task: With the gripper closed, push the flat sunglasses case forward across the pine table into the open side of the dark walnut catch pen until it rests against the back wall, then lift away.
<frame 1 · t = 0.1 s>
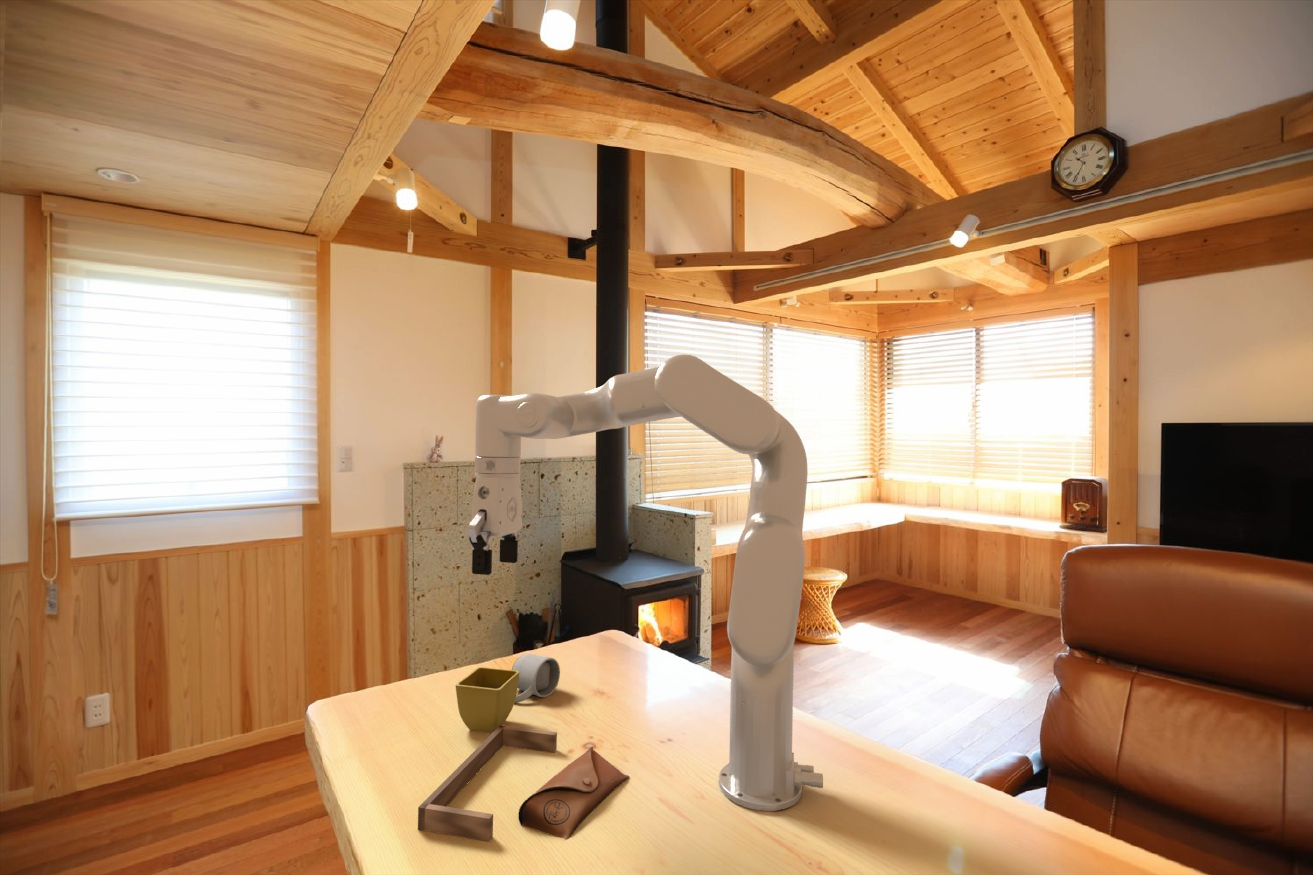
hand: (495, 567, 101), 31 cm above the table, tool pointing down, fingers open, 9 cm apart
sunglasses case: (578, 802, 88), on the table
catch pen: (495, 784, 91), on the table
ceramic mug: (530, 695, 124), on the table
flower pot: (487, 727, 110), on the table
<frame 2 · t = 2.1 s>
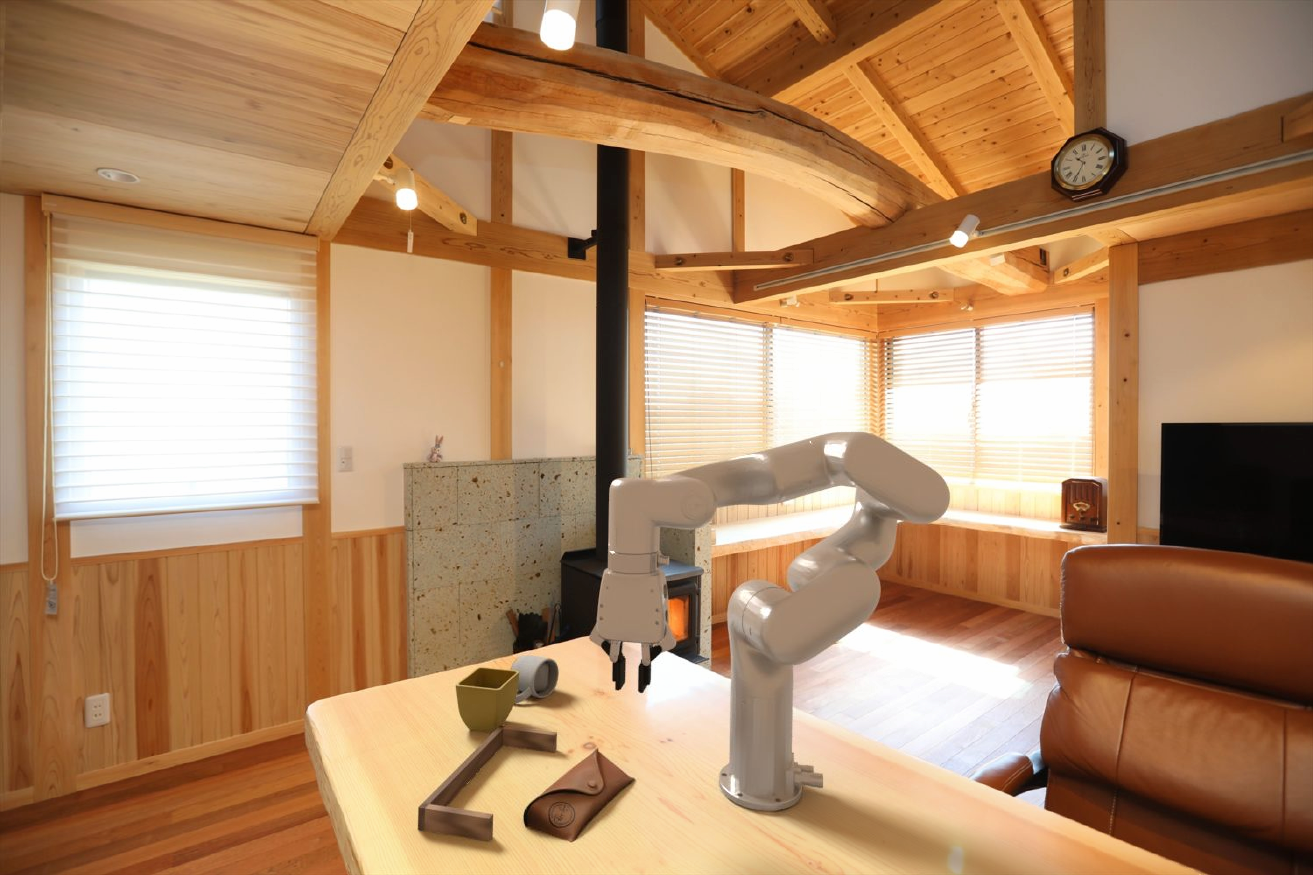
hand: (631, 686, 87), 17 cm above the table, tool pointing down, fingers closed
sunglasses case: (583, 804, 88), on the table
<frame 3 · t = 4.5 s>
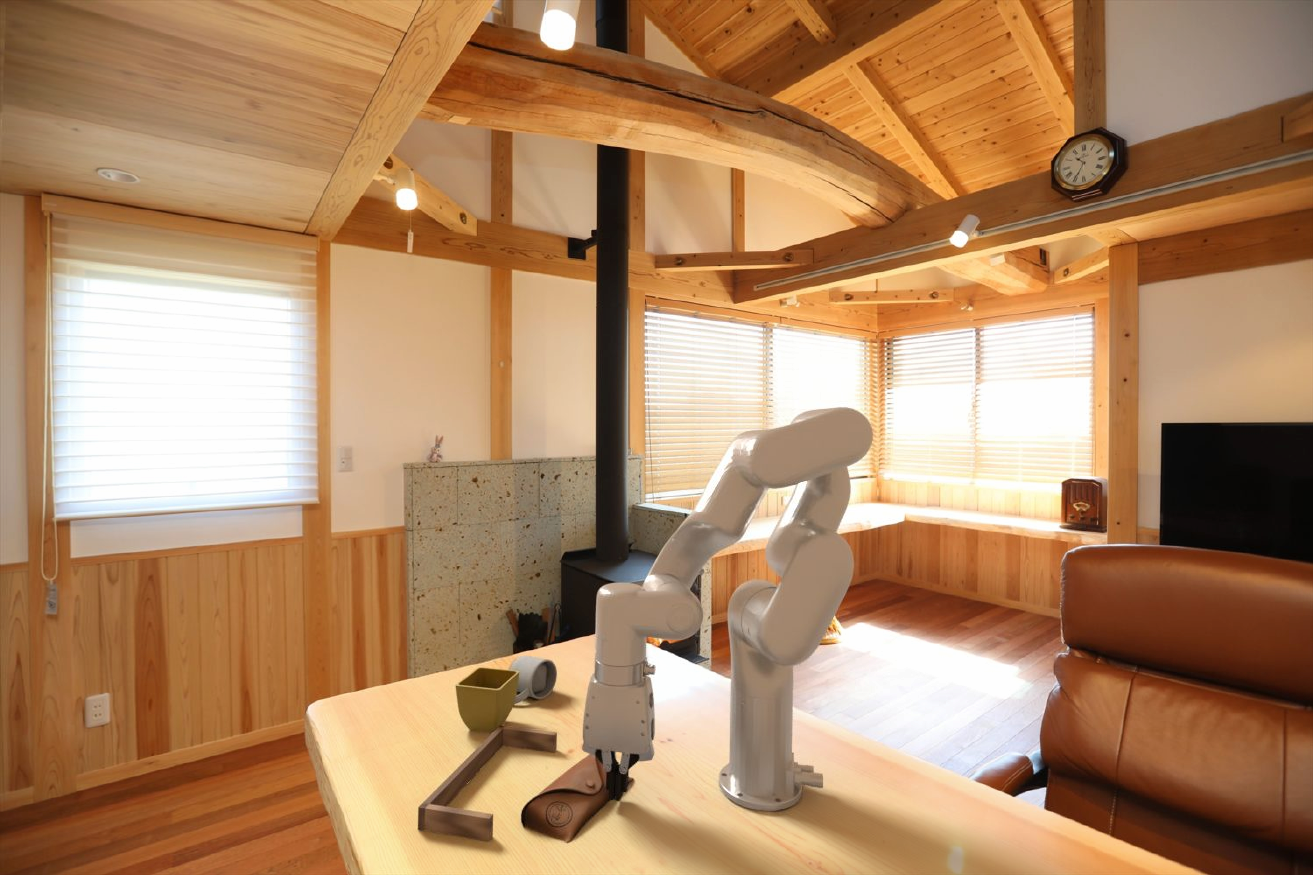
hand: (616, 794, 87), 1 cm above the table, tool pointing down, fingers closed
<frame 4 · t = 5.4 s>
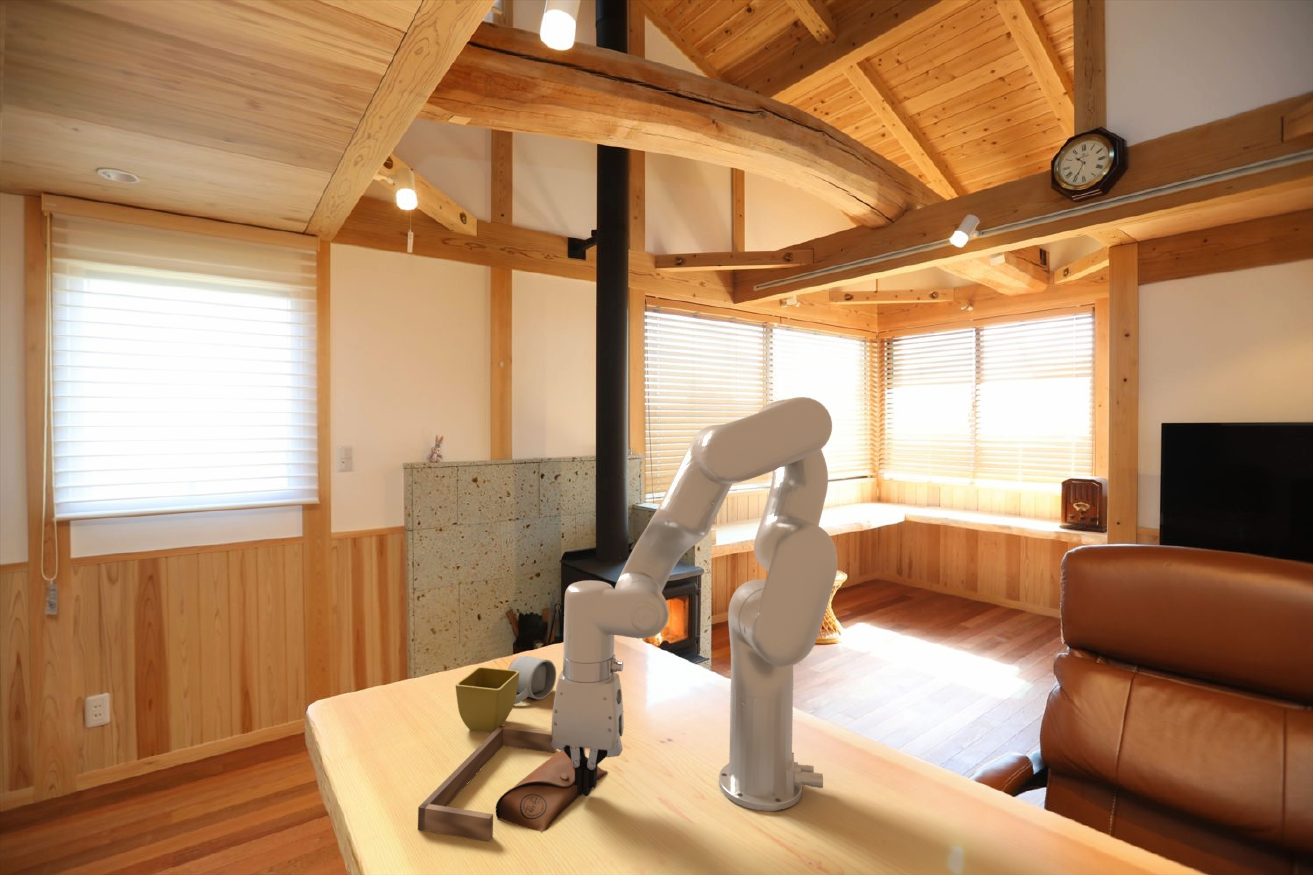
hand: (585, 790, 88), 1 cm above the table, tool pointing down, fingers closed
sunglasses case: (556, 797, 90), on the table
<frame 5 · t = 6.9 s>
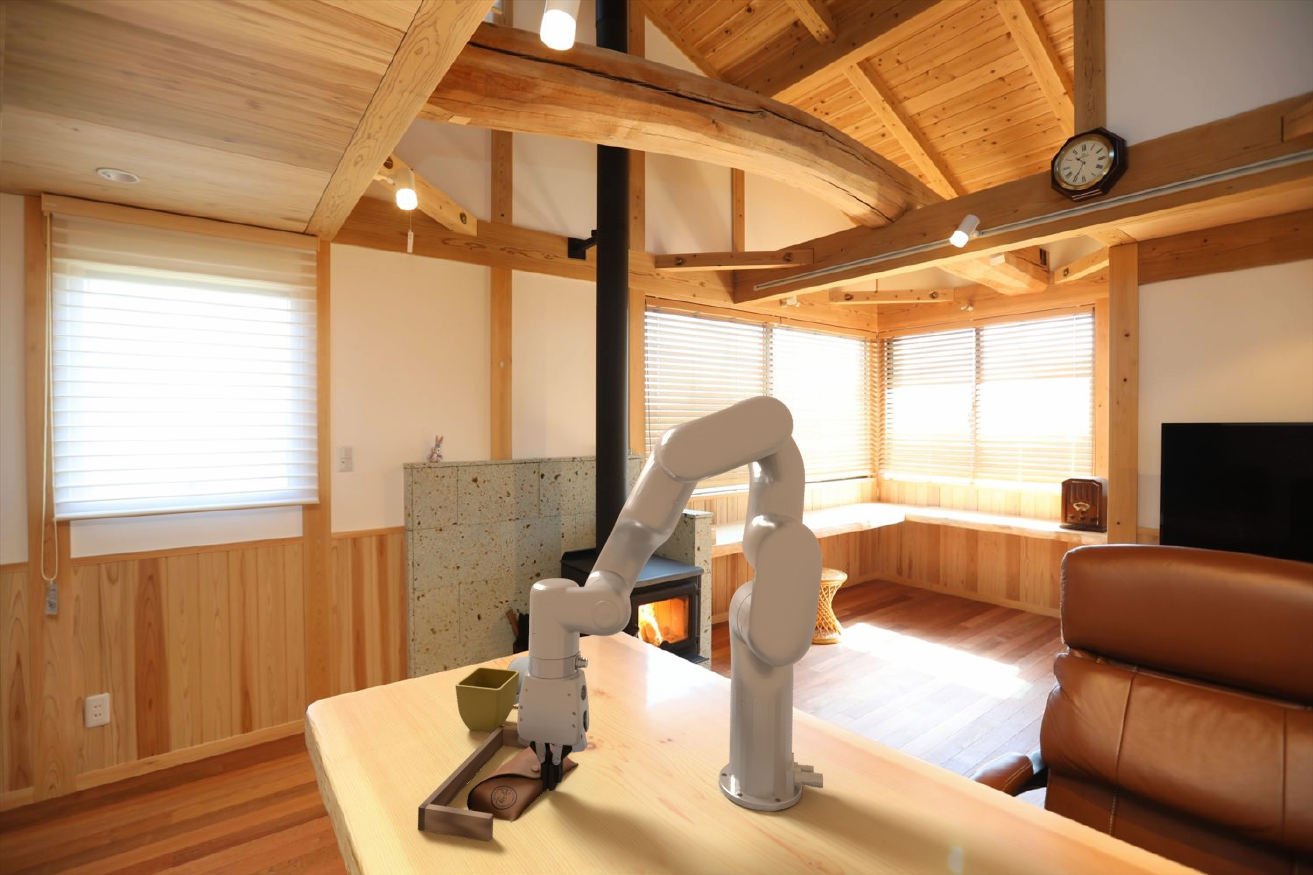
hand: (551, 785, 89), 1 cm above the table, tool pointing down, fingers closed
sunglasses case: (527, 788, 92), on the table, touching gripper
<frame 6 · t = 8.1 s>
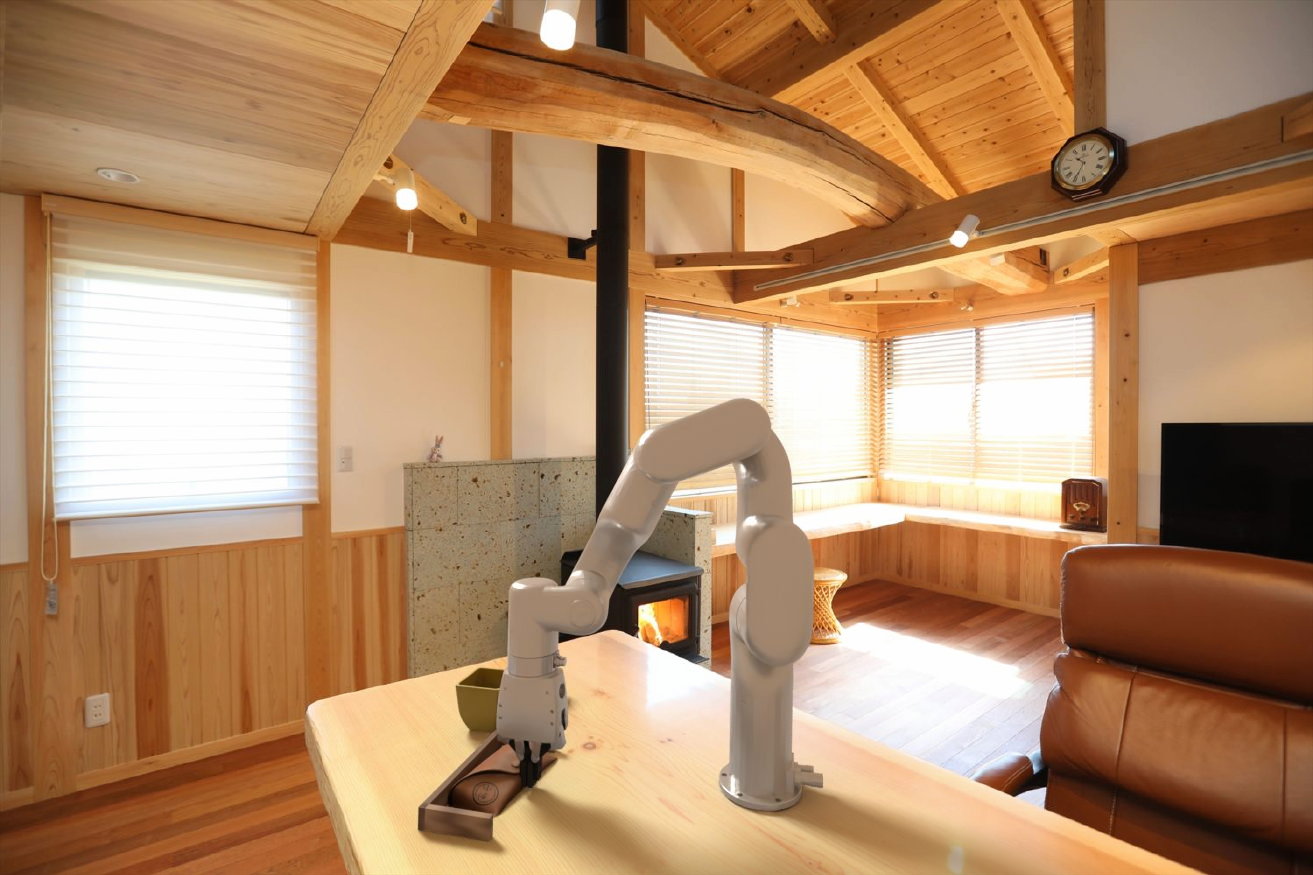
hand: (530, 782, 90), 1 cm above the table, tool pointing down, fingers closed
sunglasses case: (507, 784, 92), on the table
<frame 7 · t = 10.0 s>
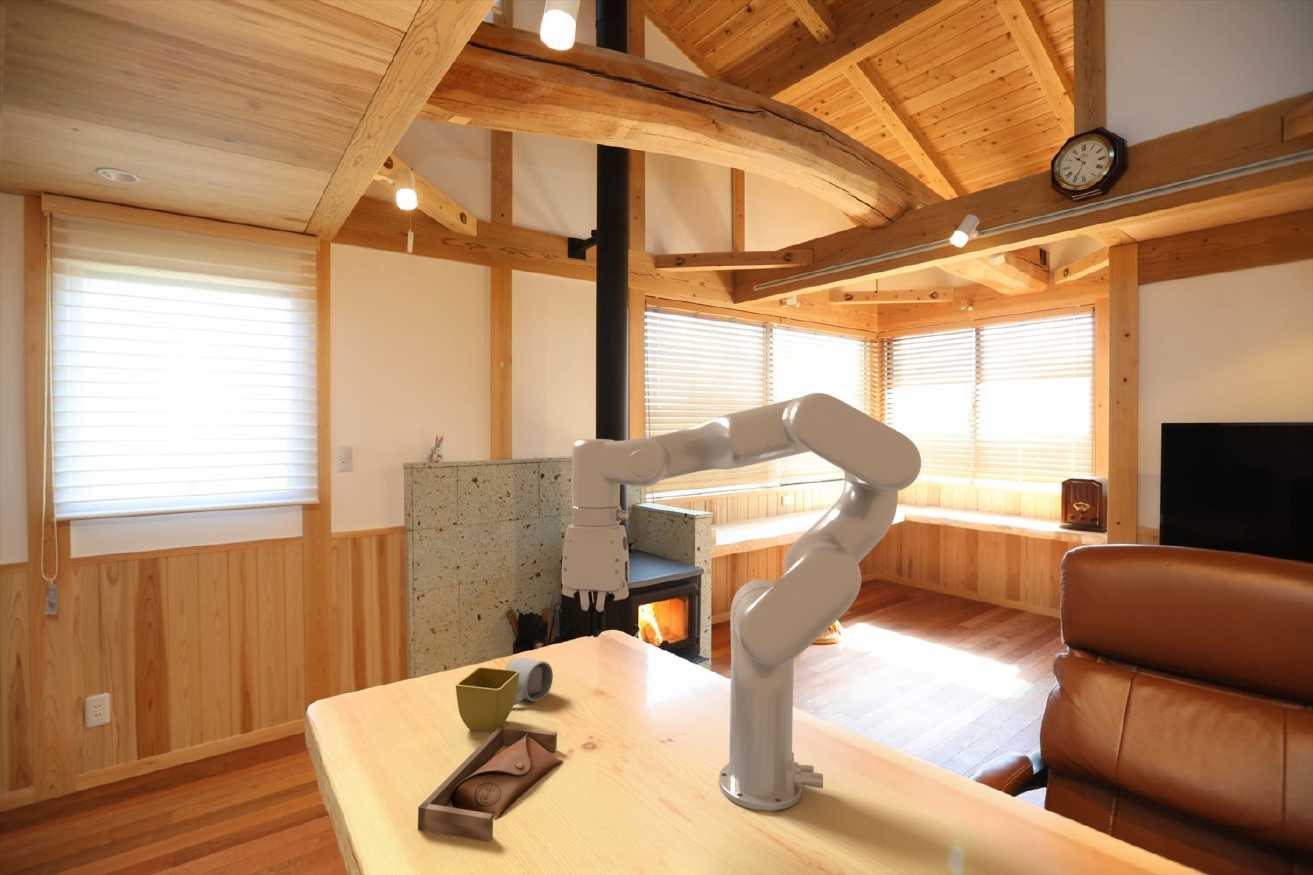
hand: (594, 633, 93), 23 cm above the table, tool pointing down, fingers closed
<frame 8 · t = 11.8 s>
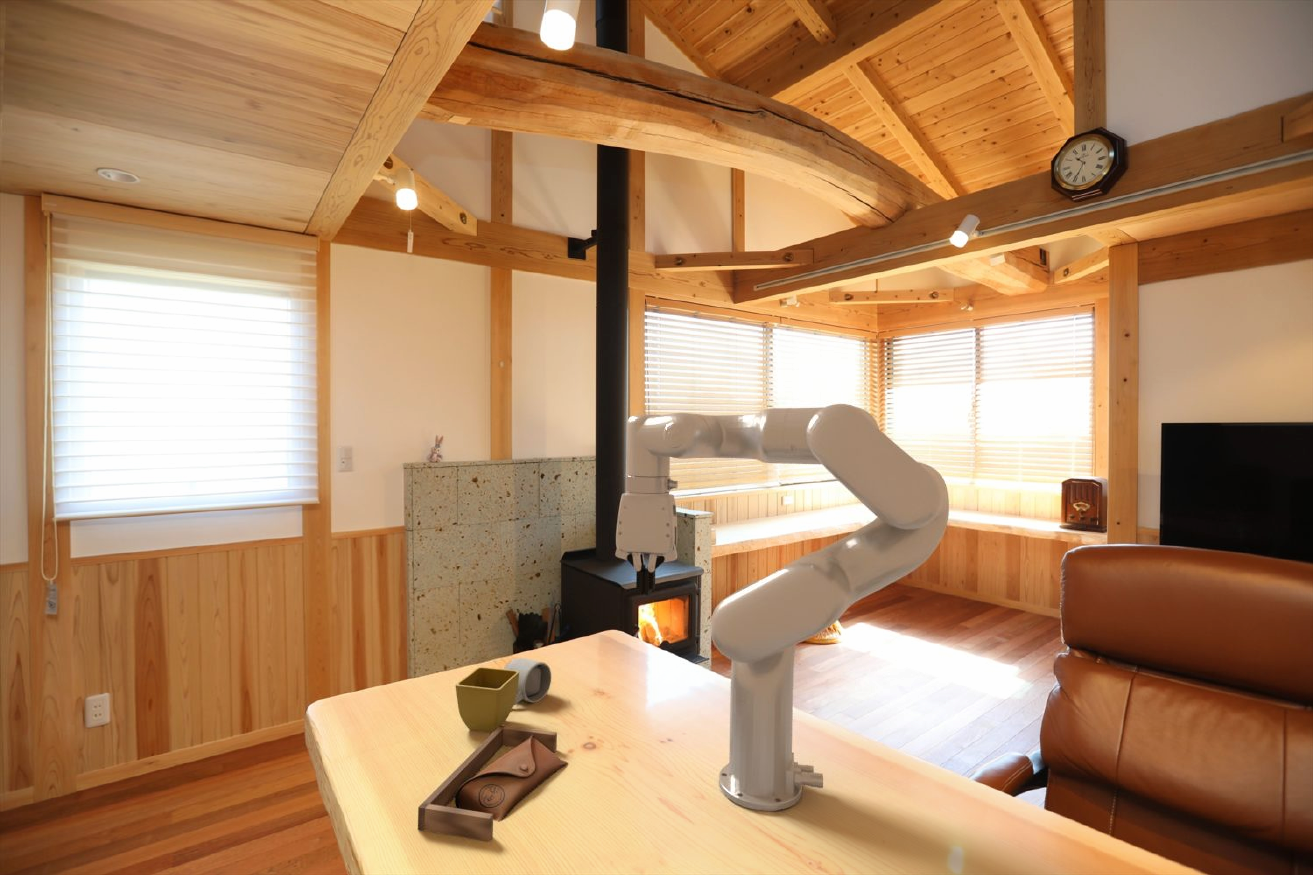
hand: (645, 593, 102), 27 cm above the table, tool pointing down, fingers closed
at the end: sunglasses case inside the target area (3.7 cm from its centre), on the table; sunglasses case moved 10.4 cm from its start; sunglasses case touching table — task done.
